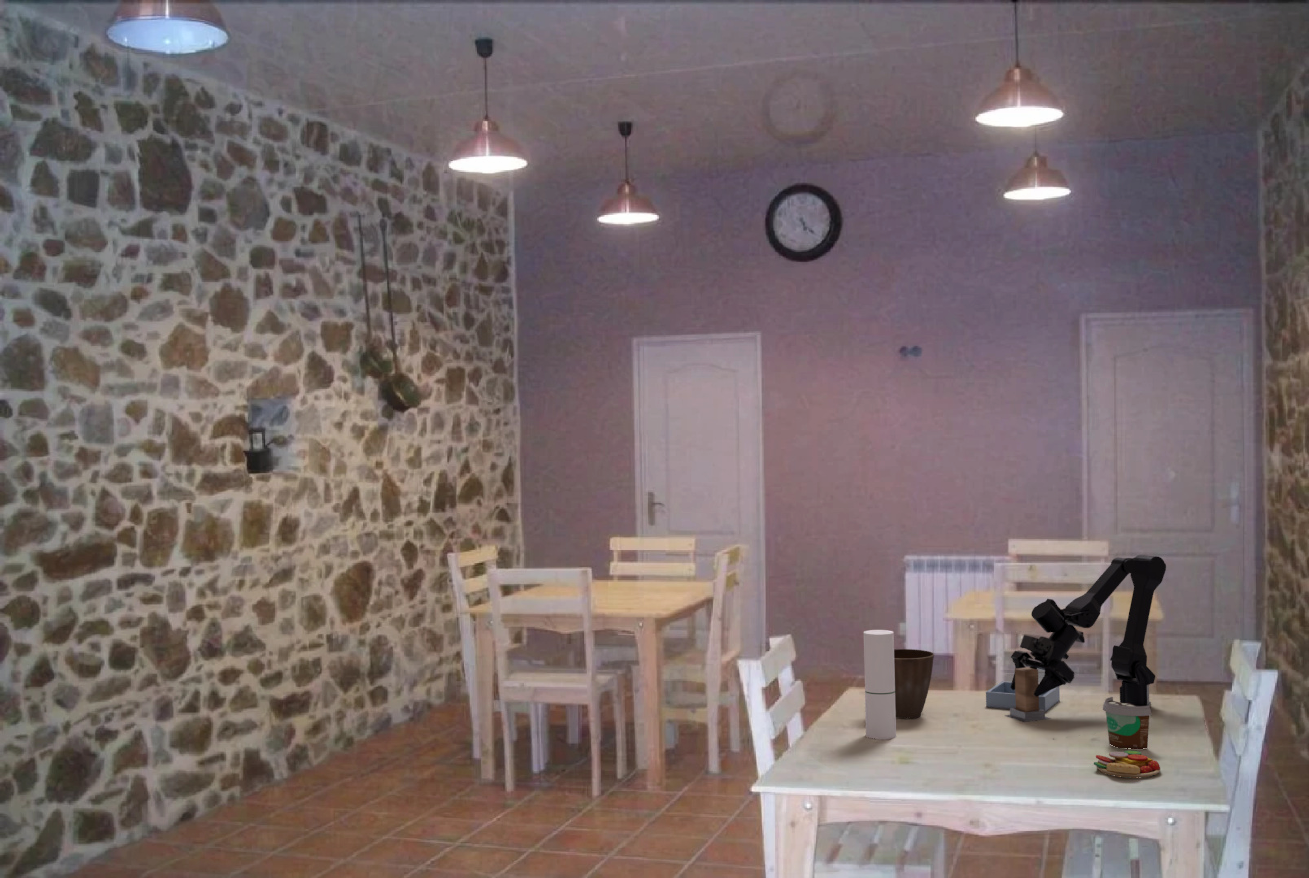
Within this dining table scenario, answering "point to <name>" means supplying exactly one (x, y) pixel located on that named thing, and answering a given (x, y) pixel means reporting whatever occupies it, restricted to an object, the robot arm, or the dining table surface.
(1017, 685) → the strut
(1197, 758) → the dining table surface
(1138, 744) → the food container
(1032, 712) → the socket block
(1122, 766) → the toy food set
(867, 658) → the cylindrical container
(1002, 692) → the bin
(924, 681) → the plant pot
